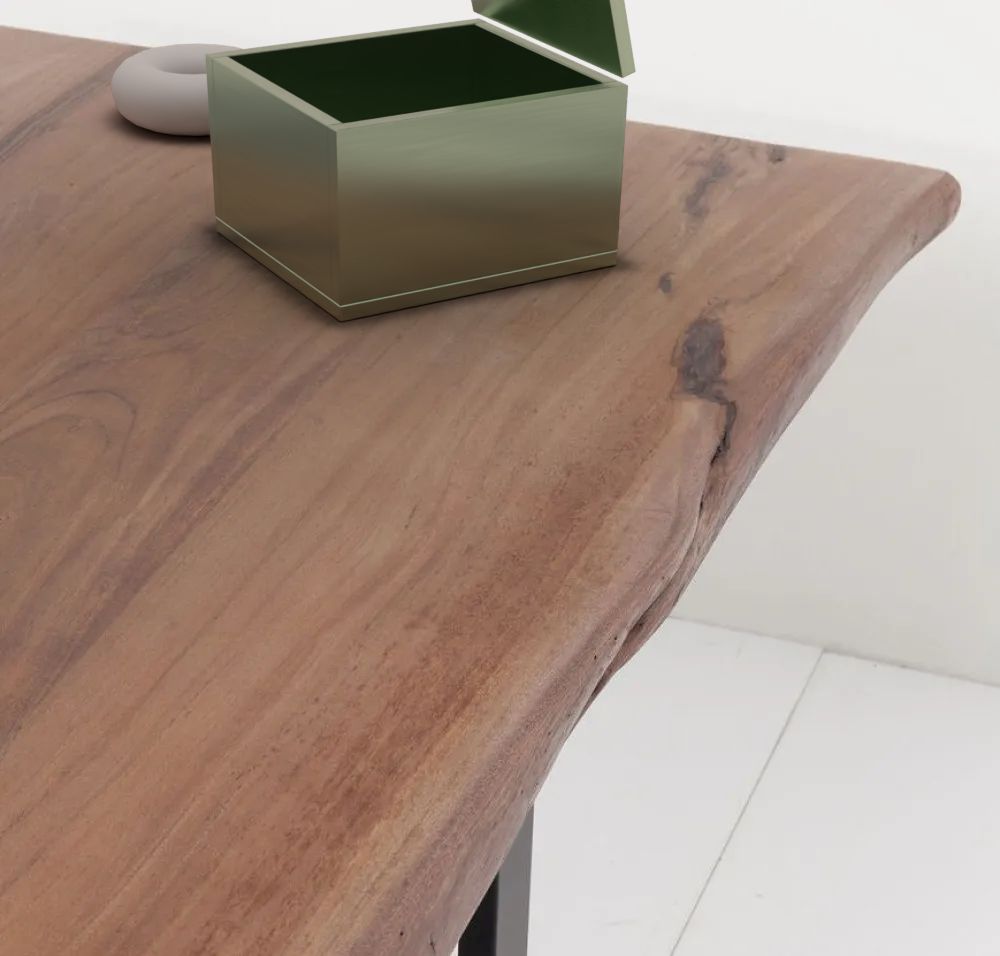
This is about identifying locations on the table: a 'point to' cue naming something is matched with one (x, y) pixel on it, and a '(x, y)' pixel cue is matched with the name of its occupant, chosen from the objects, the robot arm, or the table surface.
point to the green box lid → (571, 28)
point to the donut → (166, 88)
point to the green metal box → (415, 163)
